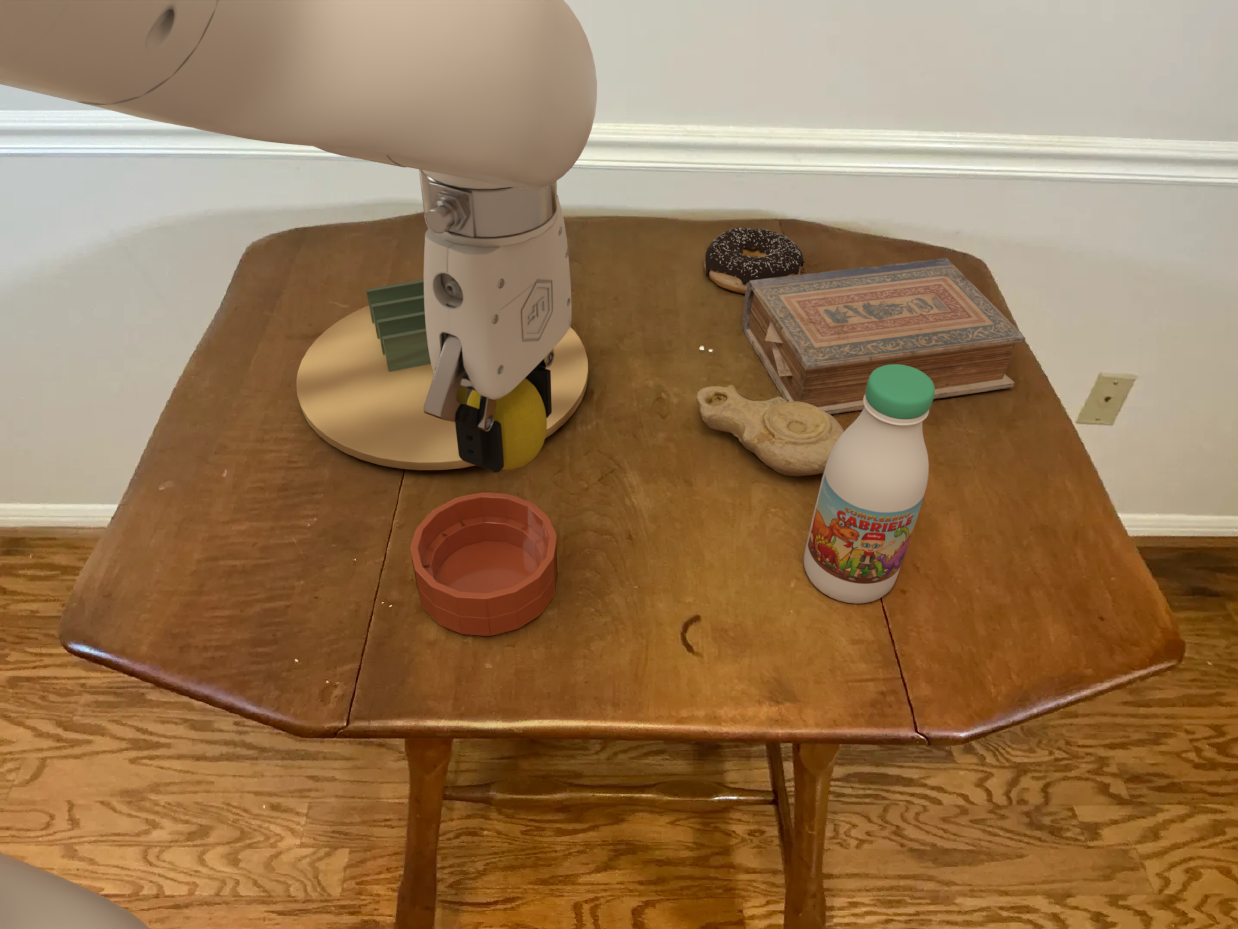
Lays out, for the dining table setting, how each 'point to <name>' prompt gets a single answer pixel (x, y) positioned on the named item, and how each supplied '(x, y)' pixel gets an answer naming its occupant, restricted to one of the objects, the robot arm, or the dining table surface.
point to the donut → (750, 257)
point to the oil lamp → (773, 429)
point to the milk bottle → (872, 490)
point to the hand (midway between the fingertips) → (506, 434)
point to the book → (876, 331)
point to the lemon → (519, 423)
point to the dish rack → (401, 384)
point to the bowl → (485, 563)
